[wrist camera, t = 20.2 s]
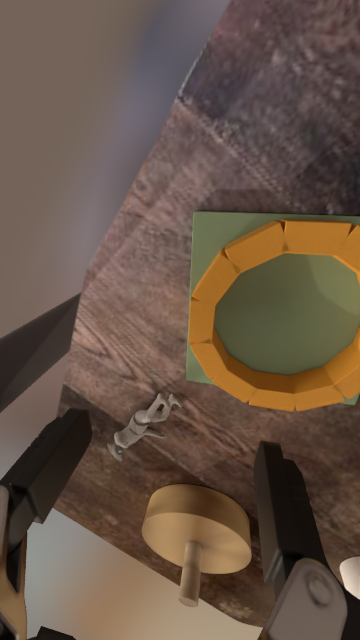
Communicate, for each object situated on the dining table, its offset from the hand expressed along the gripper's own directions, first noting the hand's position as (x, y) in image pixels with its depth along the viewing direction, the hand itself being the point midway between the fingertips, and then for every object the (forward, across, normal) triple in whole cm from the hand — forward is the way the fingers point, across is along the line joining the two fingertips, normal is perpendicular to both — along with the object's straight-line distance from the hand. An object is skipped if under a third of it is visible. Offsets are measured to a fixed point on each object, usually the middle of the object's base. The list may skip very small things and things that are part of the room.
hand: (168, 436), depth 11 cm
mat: (+15, -8, 0) cm, 17 cm away
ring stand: (+15, -2, +38) cm, 41 cm away
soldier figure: (+15, +6, +16) cm, 23 cm away
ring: (+14, -8, 0) cm, 16 cm away
